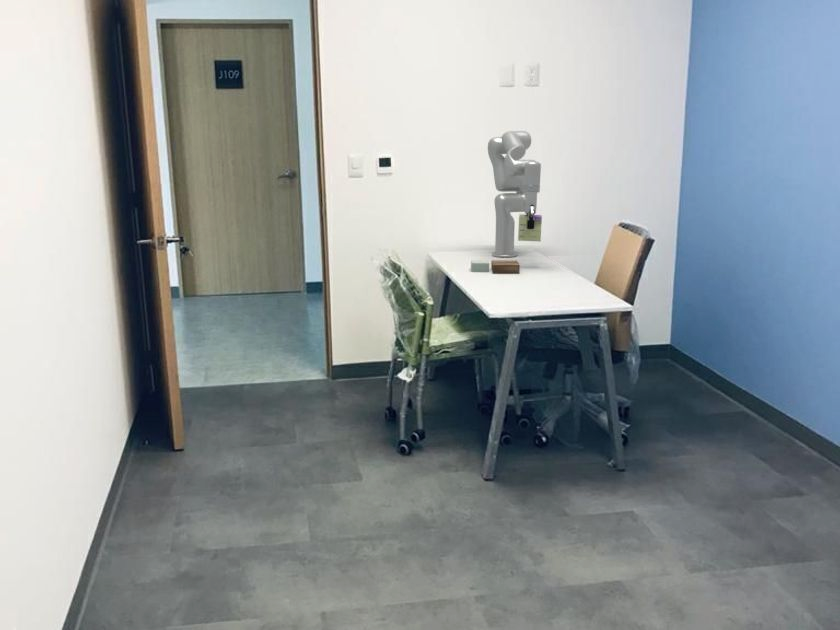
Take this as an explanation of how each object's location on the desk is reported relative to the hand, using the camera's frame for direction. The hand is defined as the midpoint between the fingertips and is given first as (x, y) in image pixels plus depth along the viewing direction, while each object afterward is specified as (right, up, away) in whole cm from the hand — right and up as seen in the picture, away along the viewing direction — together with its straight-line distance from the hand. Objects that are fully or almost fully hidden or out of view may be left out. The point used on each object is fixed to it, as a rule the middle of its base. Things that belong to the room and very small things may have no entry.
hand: (529, 227), depth 374 cm
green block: (-24, -20, -3) cm, 31 cm away
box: (0, -6, +2) cm, 6 cm away
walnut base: (-12, -21, -5) cm, 25 cm away
